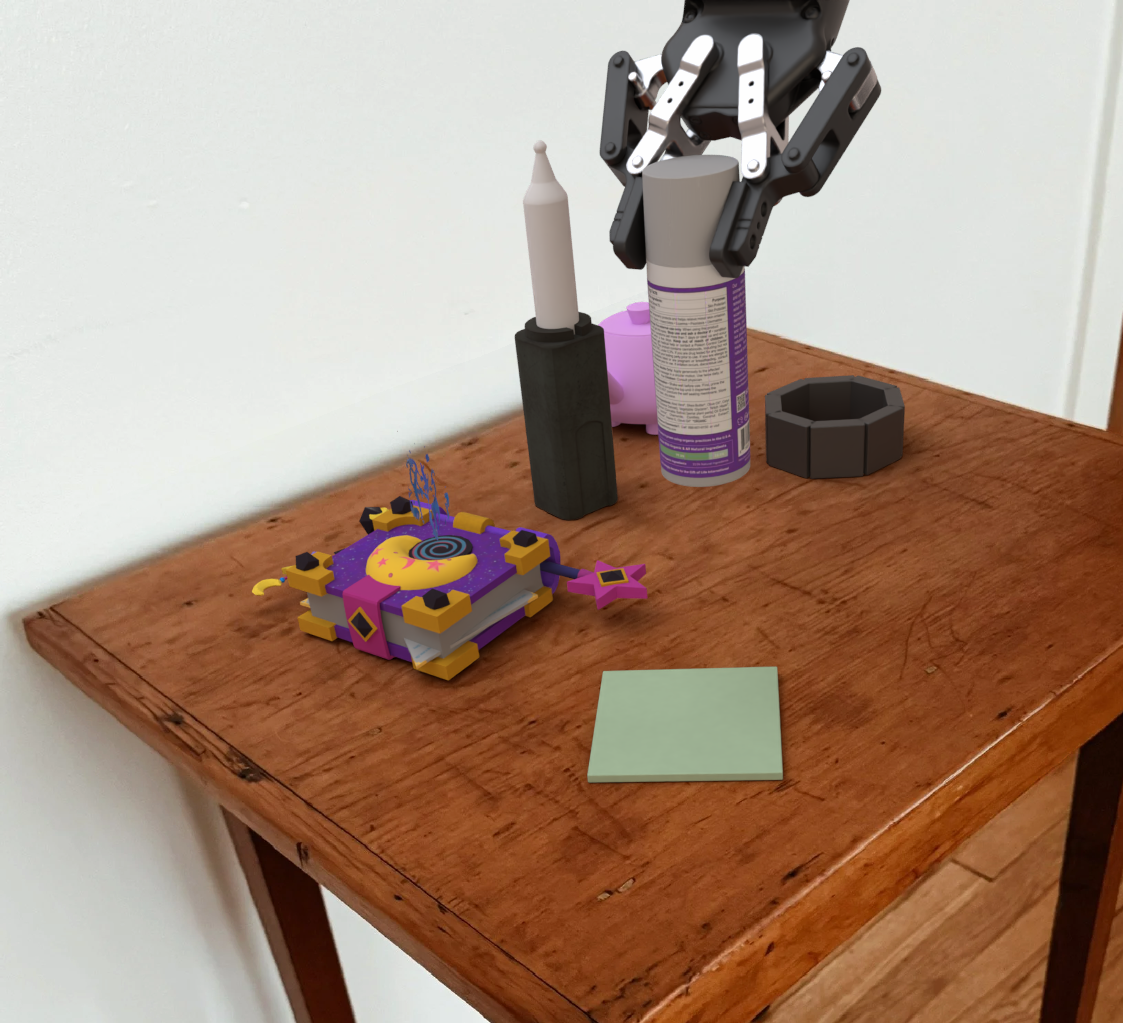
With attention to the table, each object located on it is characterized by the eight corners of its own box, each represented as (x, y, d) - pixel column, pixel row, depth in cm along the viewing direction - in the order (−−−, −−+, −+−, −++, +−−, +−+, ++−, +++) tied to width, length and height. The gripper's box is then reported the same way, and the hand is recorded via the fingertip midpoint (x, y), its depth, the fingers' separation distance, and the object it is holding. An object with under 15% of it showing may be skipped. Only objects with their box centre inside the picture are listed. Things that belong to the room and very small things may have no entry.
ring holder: (893, 421, 102) (895, 372, 100) (907, 474, 94) (909, 422, 92) (764, 428, 104) (764, 379, 102) (767, 481, 96) (766, 429, 93)
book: (383, 532, 95) (351, 370, 88) (672, 609, 82) (661, 425, 75) (233, 623, 86) (185, 450, 79) (531, 727, 72) (504, 529, 66)
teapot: (739, 395, 110) (736, 284, 105) (651, 464, 100) (643, 345, 95) (633, 382, 115) (625, 275, 110) (540, 446, 105) (526, 332, 100)
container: (705, 442, 71) (690, 150, 62) (769, 464, 68) (763, 158, 59) (642, 472, 68) (618, 172, 60) (705, 495, 65) (689, 182, 57)
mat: (777, 673, 74) (777, 666, 74) (782, 780, 66) (782, 772, 66) (603, 677, 76) (602, 670, 76) (587, 783, 68) (587, 775, 67)
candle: (568, 523, 93) (529, 152, 79) (528, 502, 97) (483, 144, 83) (624, 500, 95) (595, 136, 82) (583, 480, 99) (548, 128, 85)
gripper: (627, -115, 62) (510, 214, 61) (914, -142, 55) (787, 231, 54) (688, -7, 69) (584, 292, 67) (952, -18, 61) (840, 318, 60)
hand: (674, 263), depth 61 cm, fingers closed on container, 4 cm apart
